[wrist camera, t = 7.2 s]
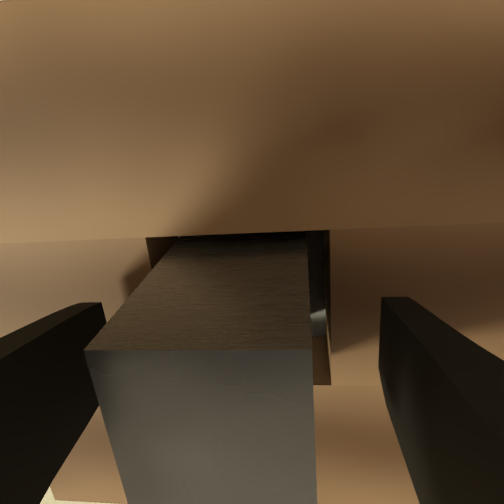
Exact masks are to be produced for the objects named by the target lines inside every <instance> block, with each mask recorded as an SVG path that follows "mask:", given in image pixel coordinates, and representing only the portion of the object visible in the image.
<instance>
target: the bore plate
mask: <svg viewBox="0 0 504 504" xmlns="http://www.w3.org/2000/svg"><path fill="white" fill-rule="evenodd" d="M311 230H325V296H326V337H311V339H312V363H313V392H314V422H315V451H316V481H317V504H419V501H418V498H417V495H416V492H415V489H414V486H413V483H412V480H411V477H410V474H409V471H408V468H407V466H406V463H405V460H404V457H403V454H402V451H401V448H400V445H399V442H398V439H397V436H396V433H395V430H394V427H393V425H392V422H391V419H390V416H389V413H388V410H387V406H386V403H385V398H384V394H383V389H382V384H381V379H380V374H379V369H378V359H379V337H380V314H381V297H409V298H411V299H413V300H414V301H416V302H417V303H419V304H420V305H421V306H423V307H424V308H426V309H427V310H428V311H430V312H431V313H433V314H434V315H435V316H437V317H438V318H440V319H441V320H442V321H444V322H445V323H447V324H448V325H450V326H451V327H452V328H454V329H455V330H457V331H458V332H460V333H461V334H463V335H464V336H466V337H467V338H469V339H470V340H472V341H473V342H475V343H476V344H478V345H479V346H481V347H482V348H484V349H486V350H487V351H489V352H491V353H492V354H494V355H495V356H497V357H499V358H500V359H502V360H504V0H8V1H0V338H1V337H3V336H5V335H7V334H9V333H11V332H14V331H16V330H18V329H20V328H22V327H24V326H26V325H28V324H30V323H33V322H35V321H37V320H39V319H41V318H43V317H45V316H48V315H50V314H52V313H54V312H57V311H59V310H61V309H64V308H66V307H69V306H71V305H74V304H77V303H81V302H102V306H103V310H104V314H105V318H106V322H108V321H109V320H110V318H111V317H112V316H113V315H114V314H115V313H116V311H117V310H118V309H119V308H120V307H121V306H122V304H123V303H124V302H125V301H126V300H127V298H128V297H129V296H130V295H131V294H132V293H133V291H134V290H135V289H136V288H137V287H138V286H139V284H140V283H141V282H142V281H143V280H144V278H145V277H146V276H147V275H148V274H149V273H150V271H151V270H152V269H153V268H154V267H155V266H156V264H157V263H158V262H159V261H160V260H161V259H162V257H163V256H164V255H165V254H166V253H167V251H168V250H169V249H170V248H171V247H172V246H173V244H174V243H175V242H176V241H177V240H178V236H192V235H216V234H239V233H263V232H287V231H311ZM50 488H51V490H52V493H53V495H54V498H55V500H65V501H83V502H100V503H118V504H128V502H127V499H126V495H125V492H124V488H123V485H122V482H121V478H120V475H119V471H118V468H117V464H116V461H115V458H114V454H113V451H112V447H111V444H110V440H109V437H108V434H107V430H106V427H105V423H104V420H103V416H102V413H101V409H100V406H99V407H98V408H97V410H96V412H95V413H94V415H93V417H92V418H91V420H90V422H89V423H88V425H87V426H86V428H85V430H84V431H83V433H82V434H81V436H80V438H79V439H78V441H77V442H76V444H75V446H74V447H73V449H72V451H71V452H70V454H69V455H68V457H67V459H66V460H65V462H64V463H63V465H62V467H61V468H60V470H59V471H58V473H57V475H56V476H55V478H54V479H53V481H52V483H51V485H50Z"/></svg>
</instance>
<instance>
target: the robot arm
mask: <svg viewBox="0 0 504 504" xmlns="http://www.w3.org/2000/svg"><path fill="white" fill-rule="evenodd" d="M106 323H107V322H106V318H105V314H104V310H103V306H102V302H81V303H77V304H74V305H71V306H69V307H66V308H64V309H61V310H59V311H57V312H54V313H52V314H50V315H48V316H45V317H43V318H41V319H39V320H37V321H35V322H33V323H30V324H28V325H26V326H24V327H22V328H20V329H18V330H16V331H14V332H11V333H9V334H7V335H5V336H3V337H1V338H0V504H40V502H41V500H42V499H43V497H44V495H45V493H46V492H47V490H48V488H49V486H50V485H51V483H52V481H53V479H54V478H55V476H56V475H57V473H58V471H59V470H60V468H61V467H62V465H63V463H64V462H65V460H66V459H67V457H68V455H69V454H70V452H71V451H72V449H73V447H74V446H75V444H76V442H77V441H78V439H79V438H80V436H81V434H82V433H83V431H84V430H85V428H86V426H87V425H88V423H89V422H90V420H91V418H92V417H93V415H94V413H95V412H96V410H97V408H98V407H99V403H98V399H97V396H96V392H95V389H94V385H93V382H92V379H91V375H90V372H89V368H88V365H87V361H86V358H85V355H84V351H83V350H84V349H85V348H86V347H87V345H88V344H89V343H90V342H91V341H92V340H93V338H94V337H95V336H96V335H97V334H98V333H99V331H100V330H101V329H102V328H103V327H104V326H105V324H106ZM378 369H379V374H380V379H381V384H382V389H383V394H384V398H385V403H386V406H387V410H388V413H389V416H390V419H391V422H392V425H393V427H394V430H395V433H396V436H397V439H398V442H399V445H400V448H401V451H402V454H403V457H404V460H405V463H406V466H407V468H408V471H409V474H410V477H411V480H412V483H413V486H414V489H415V492H416V495H417V498H418V501H419V504H504V360H502V359H500V358H499V357H497V356H495V355H494V354H492V353H491V352H489V351H487V350H486V349H484V348H482V347H481V346H479V345H478V344H476V343H475V342H473V341H472V340H470V339H469V338H467V337H466V336H464V335H463V334H461V333H460V332H458V331H457V330H455V329H454V328H452V327H451V326H450V325H448V324H447V323H445V322H444V321H442V320H441V319H440V318H438V317H437V316H435V315H434V314H433V313H431V312H430V311H428V310H427V309H426V308H424V307H423V306H421V305H420V304H419V303H417V302H416V301H414V300H413V299H411V298H409V297H381V314H380V337H379V359H378Z"/></svg>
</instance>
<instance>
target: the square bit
mask: <svg viewBox="0 0 504 504" xmlns="http://www.w3.org/2000/svg"><path fill="white" fill-rule="evenodd" d="M83 351H84V355H85V358H86V361H87V365H88V368H89V372H90V375H91V379H92V382H93V385H94V389H95V392H96V396H97V399H98V403H99V406H100V409H101V413H102V416H103V420H104V423H105V427H106V430H107V434H108V437H109V440H110V444H111V447H112V451H113V454H114V458H115V461H116V464H117V468H118V471H119V475H120V478H121V482H122V485H123V488H124V492H125V495H126V499H127V502H128V504H317V481H316V451H315V422H314V392H313V363H312V339H311V319H310V299H309V279H308V259H307V239H306V231H287V232H263V233H239V234H216V235H192V236H180V237H179V239H178V240H177V241H176V242H175V243H174V244H173V246H172V247H171V248H170V249H169V250H168V251H167V253H166V254H165V255H164V256H163V257H162V259H161V260H160V261H159V262H158V263H157V264H156V266H155V267H154V268H153V269H152V270H151V271H150V273H149V274H148V275H147V276H146V277H145V278H144V280H143V281H142V282H141V283H140V284H139V286H138V287H137V288H136V289H135V290H134V291H133V293H132V294H131V295H130V296H129V297H128V298H127V300H126V301H125V302H124V303H123V304H122V306H121V307H120V308H119V309H118V310H117V311H116V313H115V314H114V315H113V316H112V317H111V318H110V320H109V321H108V322H107V323H106V324H105V326H104V327H103V328H102V329H101V330H100V331H99V333H98V334H97V335H96V336H95V337H94V338H93V340H92V341H91V342H90V343H89V344H88V345H87V347H86V348H85V349H84V350H83Z"/></svg>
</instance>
